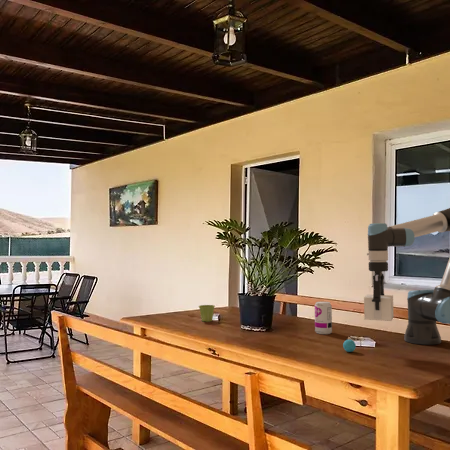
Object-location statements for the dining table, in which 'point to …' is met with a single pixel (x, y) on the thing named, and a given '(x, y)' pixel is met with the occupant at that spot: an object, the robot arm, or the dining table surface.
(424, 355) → the dining table surface
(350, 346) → the ball
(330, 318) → the supplement can
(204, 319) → the plant pot
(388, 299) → the off-white square block
